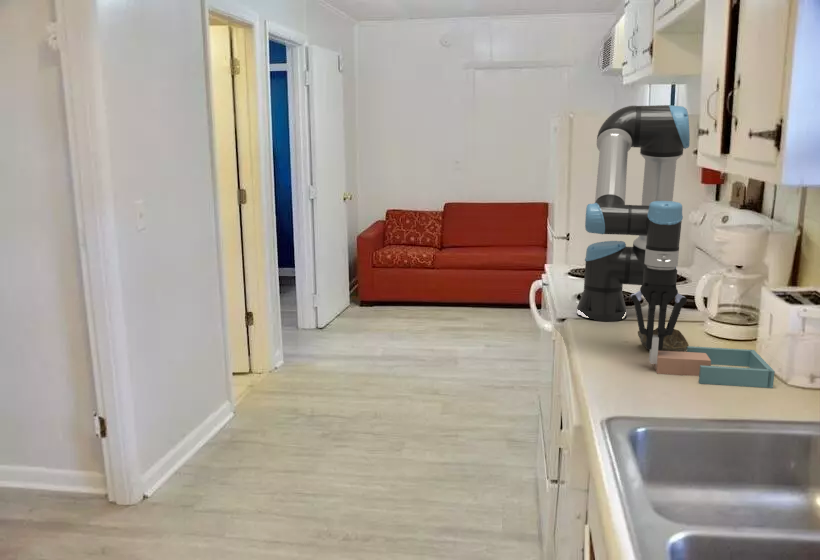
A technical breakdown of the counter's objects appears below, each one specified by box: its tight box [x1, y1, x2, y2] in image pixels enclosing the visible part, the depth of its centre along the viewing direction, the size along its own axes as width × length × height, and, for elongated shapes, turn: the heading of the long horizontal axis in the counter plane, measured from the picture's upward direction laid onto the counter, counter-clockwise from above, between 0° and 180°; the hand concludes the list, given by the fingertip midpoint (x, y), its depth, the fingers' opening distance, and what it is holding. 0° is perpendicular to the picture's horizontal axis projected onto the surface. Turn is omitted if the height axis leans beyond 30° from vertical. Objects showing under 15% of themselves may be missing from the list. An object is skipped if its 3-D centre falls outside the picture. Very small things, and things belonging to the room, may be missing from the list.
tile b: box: [653, 350, 685, 376], centre depth 175 cm, size 6×6×4 cm
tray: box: [686, 345, 775, 389], centre depth 172 cm, size 16×16×4 cm
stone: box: [637, 327, 690, 352], centre depth 191 cm, size 13×8×8 cm
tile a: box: [681, 351, 712, 377], centre depth 174 cm, size 6×6×4 cm
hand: (652, 361), depth 175 cm, fingers closed
